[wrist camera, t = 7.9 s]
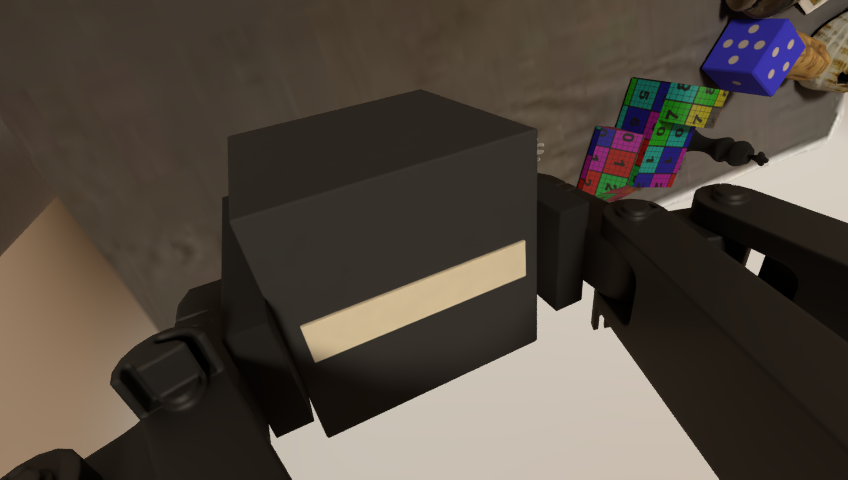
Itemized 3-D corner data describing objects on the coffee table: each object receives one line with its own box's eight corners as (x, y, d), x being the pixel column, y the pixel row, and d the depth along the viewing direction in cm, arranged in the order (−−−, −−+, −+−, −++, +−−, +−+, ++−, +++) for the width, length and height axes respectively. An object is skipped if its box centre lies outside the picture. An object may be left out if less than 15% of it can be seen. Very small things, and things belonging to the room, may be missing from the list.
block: (612, 73, 36) (681, 83, 31) (671, 83, 40) (743, 93, 34) (573, 199, 41) (627, 226, 36) (629, 198, 45) (685, 222, 39)
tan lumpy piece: (784, 53, 46) (830, 33, 43) (790, 88, 46) (837, 71, 42) (744, 39, 43) (792, 16, 39) (750, 77, 42) (798, 58, 39)
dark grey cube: (293, 299, 14) (328, 442, 10) (226, 136, 11) (228, 223, 6) (443, 244, 16) (538, 342, 11) (421, 88, 13) (540, 129, 8)
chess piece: (677, 104, 42) (786, 124, 34) (685, 135, 44) (787, 161, 36) (646, 133, 42) (747, 161, 34) (655, 163, 44) (751, 195, 36)
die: (700, 68, 40) (753, 73, 36) (731, 18, 39) (789, 17, 35) (721, 90, 43) (772, 97, 39) (751, 43, 42) (807, 46, 38)
